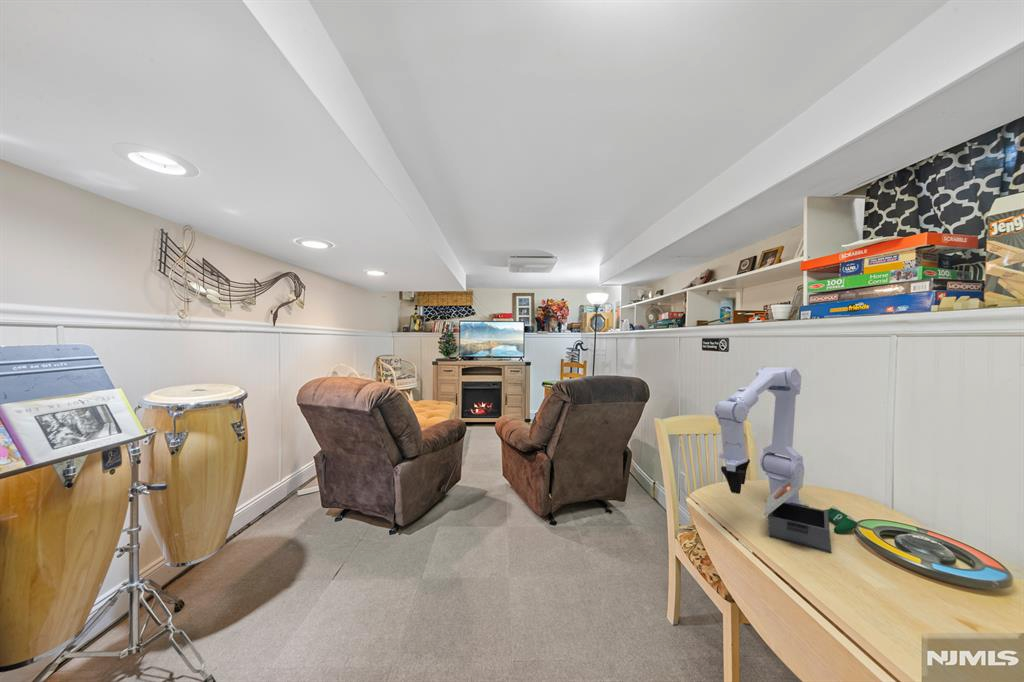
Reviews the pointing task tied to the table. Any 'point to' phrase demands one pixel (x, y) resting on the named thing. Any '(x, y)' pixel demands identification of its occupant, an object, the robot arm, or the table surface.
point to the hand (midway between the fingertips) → (737, 488)
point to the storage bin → (801, 526)
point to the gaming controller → (841, 520)
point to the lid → (784, 492)
